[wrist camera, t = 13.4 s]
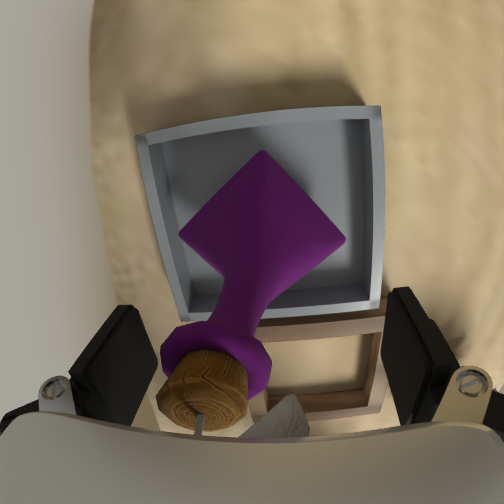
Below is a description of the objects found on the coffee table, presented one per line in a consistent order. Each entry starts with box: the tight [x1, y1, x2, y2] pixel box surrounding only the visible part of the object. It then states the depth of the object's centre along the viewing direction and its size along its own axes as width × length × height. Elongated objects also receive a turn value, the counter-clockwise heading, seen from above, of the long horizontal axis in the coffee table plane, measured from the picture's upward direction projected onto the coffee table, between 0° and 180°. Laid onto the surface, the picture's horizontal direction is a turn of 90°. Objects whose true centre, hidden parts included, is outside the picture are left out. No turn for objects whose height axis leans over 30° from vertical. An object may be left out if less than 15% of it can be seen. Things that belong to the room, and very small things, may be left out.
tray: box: [135, 106, 385, 322], centre depth 20 cm, size 14×15×3 cm
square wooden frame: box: [248, 297, 388, 423], centre depth 26 cm, size 14×14×2 cm
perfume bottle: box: [156, 150, 346, 438], centre depth 13 cm, size 8×8×18 cm
